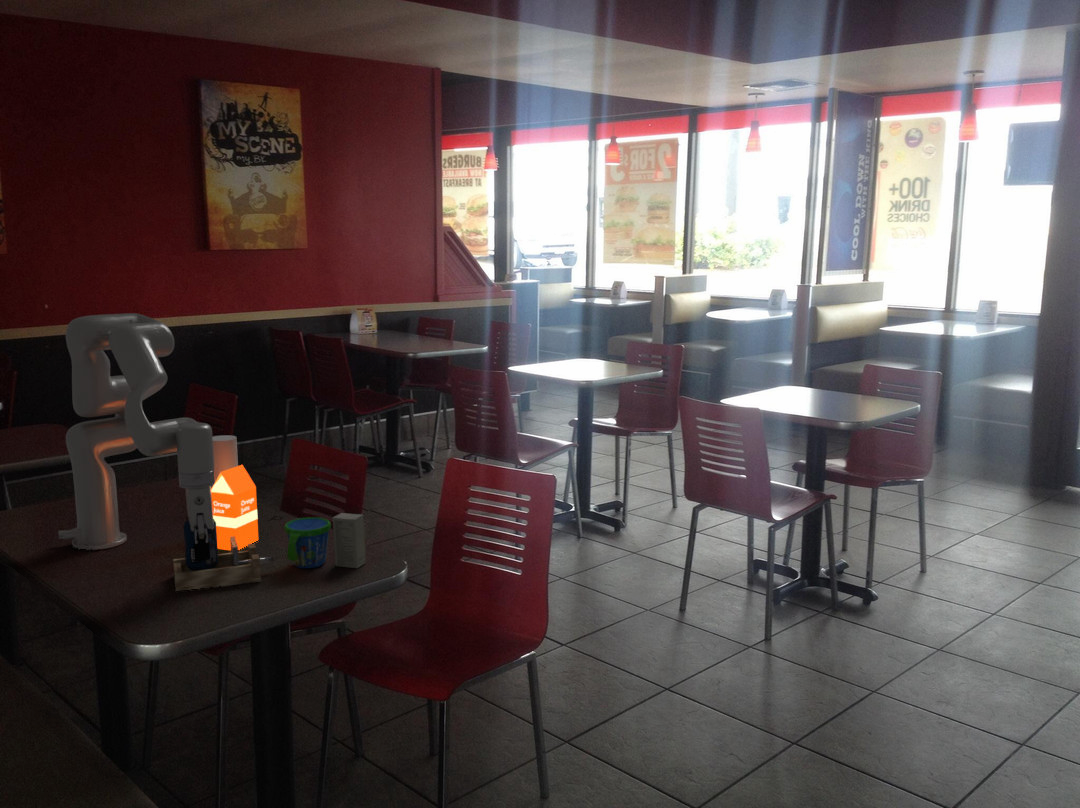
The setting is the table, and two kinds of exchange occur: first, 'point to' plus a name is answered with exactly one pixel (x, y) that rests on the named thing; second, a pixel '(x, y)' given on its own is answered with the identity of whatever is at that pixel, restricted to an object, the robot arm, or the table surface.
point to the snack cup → (307, 541)
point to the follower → (243, 562)
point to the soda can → (189, 548)
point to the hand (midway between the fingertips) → (201, 554)
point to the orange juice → (235, 508)
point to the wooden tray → (219, 572)
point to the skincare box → (349, 540)
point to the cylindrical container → (224, 453)
